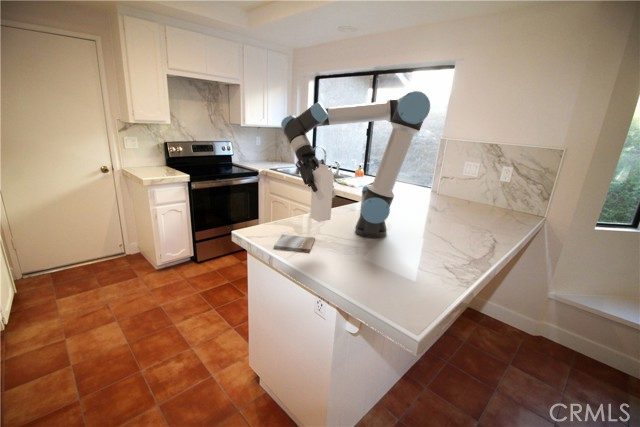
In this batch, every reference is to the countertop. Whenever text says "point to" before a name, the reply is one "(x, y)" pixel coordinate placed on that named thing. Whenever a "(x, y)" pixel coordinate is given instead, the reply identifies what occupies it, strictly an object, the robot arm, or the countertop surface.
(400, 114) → the robot arm
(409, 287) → the countertop surface
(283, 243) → the board
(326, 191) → the milk
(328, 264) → the countertop surface
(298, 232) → the countertop surface
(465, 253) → the countertop surface
